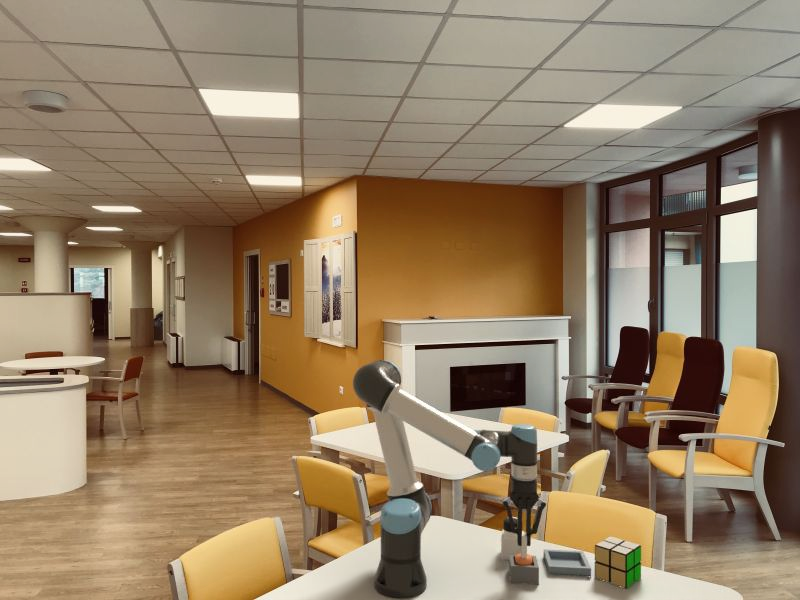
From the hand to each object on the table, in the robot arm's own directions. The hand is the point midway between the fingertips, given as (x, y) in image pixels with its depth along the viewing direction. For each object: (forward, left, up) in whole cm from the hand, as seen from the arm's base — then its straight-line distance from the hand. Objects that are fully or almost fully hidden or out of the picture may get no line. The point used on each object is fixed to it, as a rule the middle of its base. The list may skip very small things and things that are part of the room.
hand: (523, 556), depth 182 cm
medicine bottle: (-2, +15, -7) cm, 17 cm away
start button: (0, 0, -3) cm, 3 cm away
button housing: (0, 0, -6) cm, 6 cm away
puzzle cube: (+28, +3, -7) cm, 29 cm away
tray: (+14, +9, -6) cm, 18 cm away
